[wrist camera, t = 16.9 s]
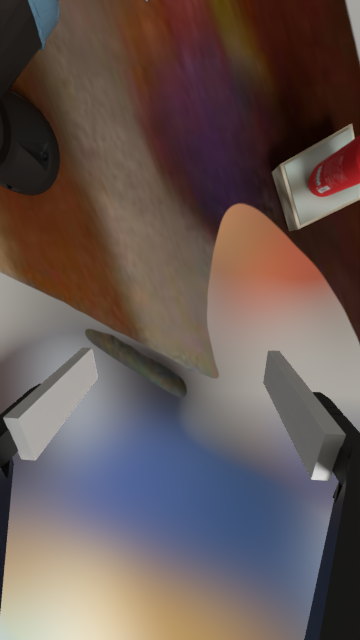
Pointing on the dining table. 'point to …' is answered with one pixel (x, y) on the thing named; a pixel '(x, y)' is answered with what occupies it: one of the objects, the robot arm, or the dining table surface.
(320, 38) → the dining table surface
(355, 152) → the beverage can
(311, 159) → the plinth
